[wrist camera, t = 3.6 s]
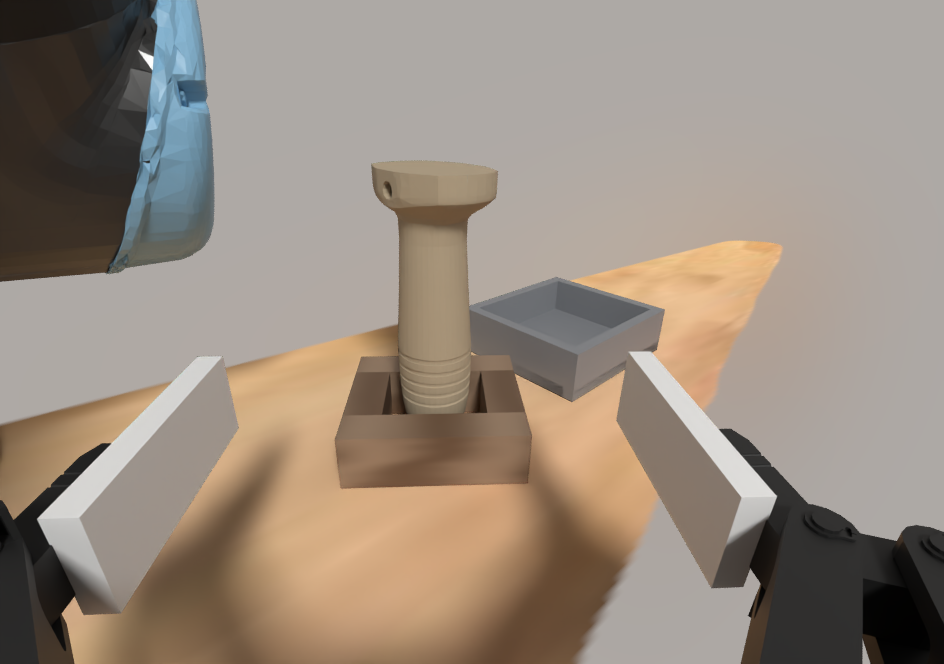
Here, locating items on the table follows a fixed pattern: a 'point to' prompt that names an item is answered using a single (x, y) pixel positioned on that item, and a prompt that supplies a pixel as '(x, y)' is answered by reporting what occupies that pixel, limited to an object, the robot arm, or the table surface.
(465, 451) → the collar
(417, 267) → the handle
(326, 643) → the table surface
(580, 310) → the tray
